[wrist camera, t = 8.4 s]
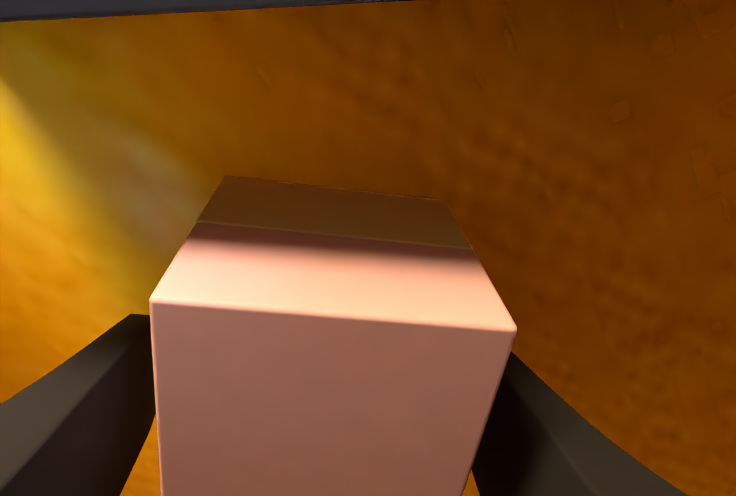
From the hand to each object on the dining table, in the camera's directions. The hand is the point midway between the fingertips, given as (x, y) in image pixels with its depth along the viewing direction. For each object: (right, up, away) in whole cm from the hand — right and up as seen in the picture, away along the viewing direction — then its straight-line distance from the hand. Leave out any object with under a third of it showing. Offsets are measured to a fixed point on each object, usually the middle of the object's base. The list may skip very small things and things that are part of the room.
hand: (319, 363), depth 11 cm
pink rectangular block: (0, +1, +1) cm, 2 cm away
